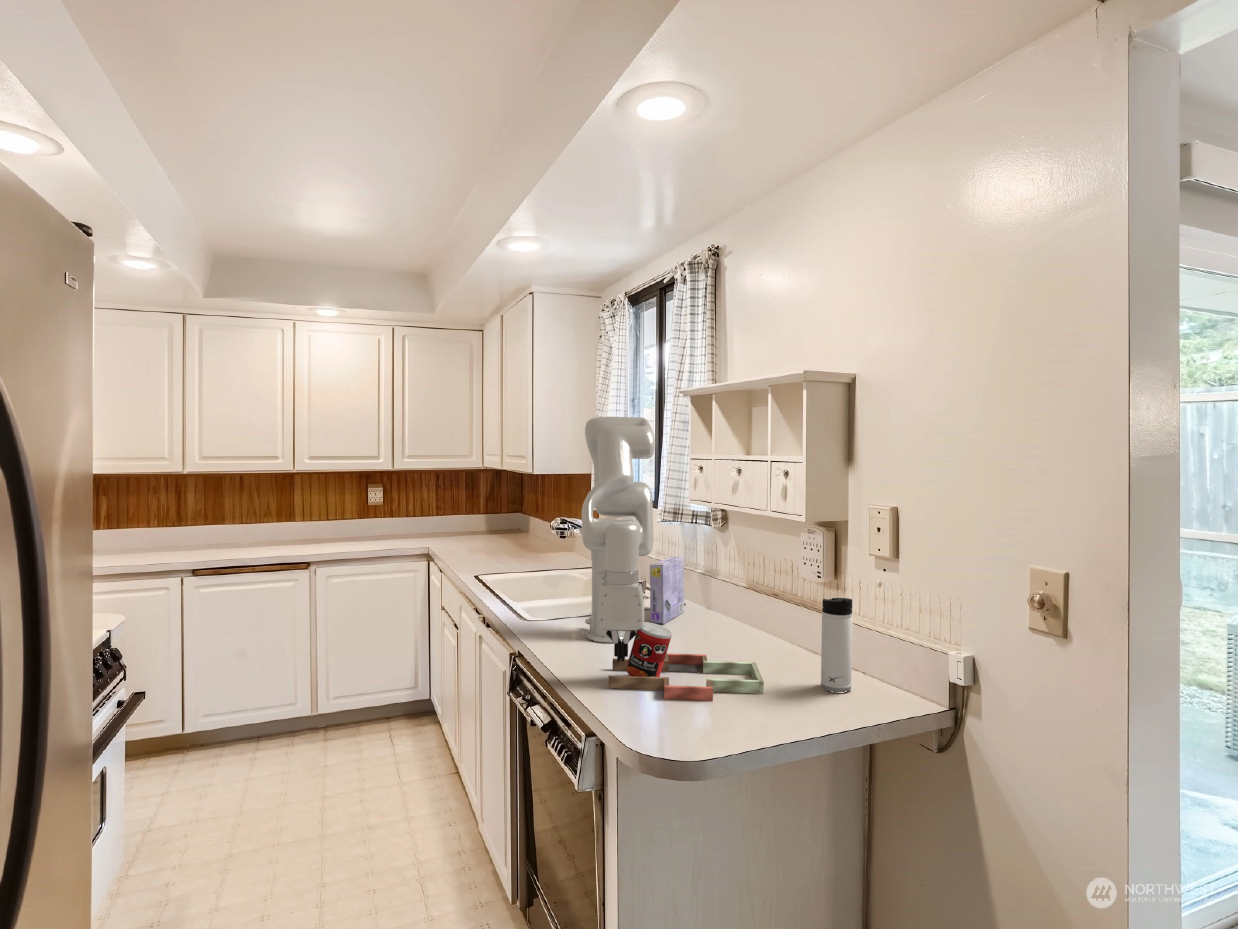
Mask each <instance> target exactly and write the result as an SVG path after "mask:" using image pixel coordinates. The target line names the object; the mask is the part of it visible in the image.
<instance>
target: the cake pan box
mask: <svg viewBox="0 0 1238 929" xmlns="http://www.w3.org/2000/svg"><path fill="white" fill-rule="evenodd" d="M684 561H685V558H684V557H683V556H680V557H679V556H676V557H675V556H673V557H672V556H671V557H668V558H665V559H661V560H659V561H657V562H653V563H650V564H649V598H650V599H649V614H650V617H649V618H650V621H649V622H650V623H655V624H658V625H665V624H666V623H669V621H671V620H674V619H676V618H677V617H678V616H679V615H681V614H684V613H685V585H684V583H685V582H684V581H685V580H684V578H685V573H684V571H685V570H684V569H685V568H684V567H685V566H684V565H685V562H684Z"/></svg>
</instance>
